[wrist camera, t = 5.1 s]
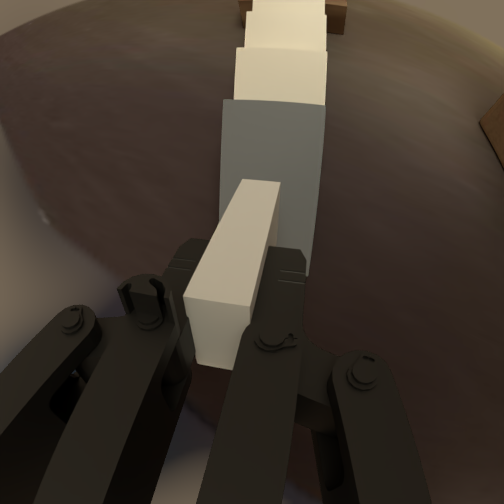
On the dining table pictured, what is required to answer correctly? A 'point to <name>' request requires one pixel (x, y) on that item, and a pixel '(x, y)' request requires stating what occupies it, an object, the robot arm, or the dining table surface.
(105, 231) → the dining table surface
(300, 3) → the domino
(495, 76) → the dining table surface
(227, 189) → the domino
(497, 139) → the wooden block
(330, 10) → the end block
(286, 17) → the domino
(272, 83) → the domino
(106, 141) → the dining table surface
